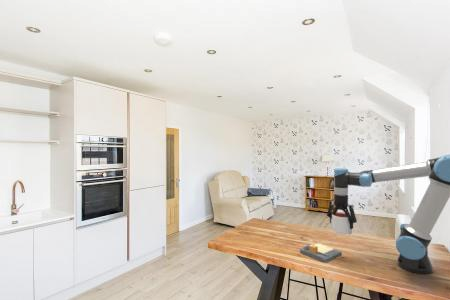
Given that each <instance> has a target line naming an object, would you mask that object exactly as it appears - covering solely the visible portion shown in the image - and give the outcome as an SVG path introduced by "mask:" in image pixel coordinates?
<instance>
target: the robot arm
mask: <svg viewBox="0 0 450 300" xmlns="http://www.w3.org/2000/svg"><path fill="white" fill-rule="evenodd" d="M425 177H428V179H429V182H430V183H429V184H428V186H427V188H426V191H425V193H424V195H423V196H422V198H421V200H420V202H419V204H418V206H417V209H416V210H415V213H414V214H413V216H412V219H411V220H410V222H409V223H401V224H400V227H399V231H400V233H399V236H398V238H397V239H396V240H395V246H396V250H397V252H398V253H399V255H398V258H397V266H399V267H400V268H401V269H403V270H405V271H408V272H410V273H414V274H419V275H420V274H422V275H429V274H432V273H433V270H434V269H433V268H434V267H433V265H432V262H431V260H430V257H429V255H428V253H429V252H428V251H429V248H428V247H429V245H430V243H431V241H432V240H433V238H432V235H431V233H432V231H433V229H434V227H435V225H436V224H437V221H438V220H439V218H440V216H441V214H442V212H443V210H444V209H445V207H446V204H447V203H448V201H449V199H450V154H445V155H443V156H438V157H436V158H432V159H427V160H426V161H423V162H416V163H409V164H405V165H404V164H403V165H397V166H396V165H395V166H390V167H389V166H388V167H384V168H383V167H382V168H375V169H370V170H361V171H360V172H350V171H349V169H348V168H344V167H343V168H342V167H341V168H340V167H339V168H334V174H333V185H334V188H333V189H334V190H333V192H334V195H333V196H334V197H333V200H332V201H329V206H328V209H327V214H326V217H328V218H329V224H330V230H332V214H333V215H335V214H336V213H338V210H340V211H342V212H343V213H344V214H345V215H346V217H348V221H349V223H348V234H347V235H351V234H353V232H352V231H353V228H354V224H355V223H357V221H358V220H357V217H356V214H355V210H354V209H355V208H354V205H353V204H349V195H348V194H349V186H354V187H355V186H356V187H363V188H366V187H367V188H370V187H371V186H372V184H373V183H381V182H389V181H392V182H393V181H398V180H409V179H417V178H425Z"/></svg>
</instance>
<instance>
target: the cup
mask: <svg viewBox="0 0 450 300" xmlns="http://www.w3.org/2000/svg"><path fill="white" fill-rule="evenodd" d="M348 223H349V221H348V217H346V215H345V213H344V212H343V213H342V212H336V214H335V215H333V214H332V229H331V230H332V231H333V232H334V233H336V234H340V235H349V234H348Z"/></svg>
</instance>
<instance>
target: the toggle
mask: <svg viewBox="0 0 450 300" xmlns="http://www.w3.org/2000/svg"><path fill="white" fill-rule="evenodd" d="M309 245H310V246H309V252H312V253H314V254H317V253H318V247H317V246H314V245H313V244H309Z"/></svg>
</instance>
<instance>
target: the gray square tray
mask: <svg viewBox="0 0 450 300" xmlns="http://www.w3.org/2000/svg"><path fill="white" fill-rule="evenodd" d="M310 245H311V244H306V245H303V246H302V247H303V248H301V249H299V253H300V254H302V255H304V256H307V257H308V258H309V257H310V258H312V259H314V260H318V261H319V262H321V263H324V264H327V263H329V262H330V261H333V260H335V259H337V258H339V257H341V256H342V254H343V253H342V251H340V250H337V249H334V248H332V247H329V246H327V245H324V244H321V243H314V244H312V245H314V246H317V247H318V253H317V254H314V253H312V252H309V246H310Z"/></svg>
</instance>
